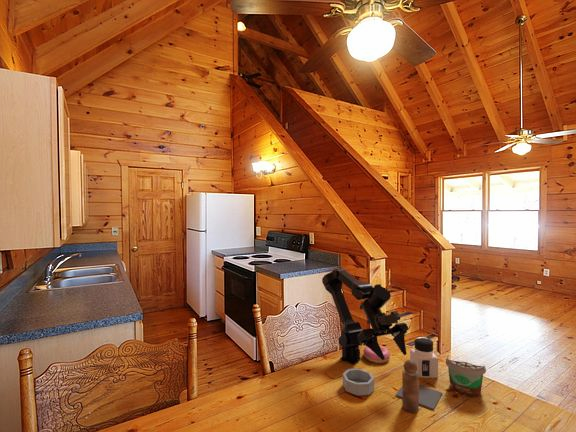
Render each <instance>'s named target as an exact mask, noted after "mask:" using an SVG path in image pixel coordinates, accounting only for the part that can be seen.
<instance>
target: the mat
mask: <svg viewBox="0 0 576 432" xmlns="http://www.w3.org/2000/svg"><path fill="white" fill-rule="evenodd" d="M395 396H396V397H398V398H401V399H402V386H401V387H400V388H399V390H398V391H397V392H396V393H395ZM442 396H443V392H442V391H439V390H436V389H434V388H430V387H427V386H425V385H422V384H419V406H421V407H423V408H427V409H429V410H431V411H435V410H436V409H435V408H436V407H437V405H438V403H439V401H440V399H441V398H442Z"/></svg>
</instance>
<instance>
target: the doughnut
mask: <svg viewBox="0 0 576 432" xmlns="http://www.w3.org/2000/svg"><path fill="white" fill-rule="evenodd" d="M379 346H380V348H381V351H382V353H383V355H384V358H385V359H384V360H382V359H381V358H380V357H379V356H377V355H376V354H375V353H374V352H373V351H372V350H371V349H370V348H368V347H367V346H365V347H364V349H363V353H362V354H363V356H364V358H365V359H366V360H367V361H369V362H372V363H375V364H383V363H387V362H388V361H389V360H390V357H391V353H390V351H389V349H387V348H386V347H384V346H381V345H379Z"/></svg>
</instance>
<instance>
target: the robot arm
mask: <svg viewBox="0 0 576 432" xmlns="http://www.w3.org/2000/svg"><path fill="white" fill-rule="evenodd" d="M321 282H322V284H323V286H324V288H325V290H326V291H327V292H328V293H329V294H331V297H332V299H333V302H334V305H335V308H336V310H337V314H338V316H339V319H340V322H341V324H342V325H341V329H340V331H341V332H340V333H341V335H340V337H338V338H337V339H338V345H340V347H341V357H340V360H341V361H344V362H345V363H349V364H352V365H354V364H356V363H357V362H358V361H360V360H361V358H362V357H361V349H360V346H362V345H363V346H364V347H368V348H370V349H371V350H372V351H373V352H374V353H375V354H376V355H377V356H379V357H380V358H381V359H382V360H384V359H385V358H384V355H383V353H382V351H381V348H380V346H381V345H379V342H378V337H382V336H387V335H391V336H392V337H393V338H392V339H393V341H394V342H395V345H396V346H397V347H398V349H399V351H400V352H401V353H402V354H403V356H406V355H407V354H408V353H407V347H406V342H405V335H406V334H407V333H408V330H410V328H409V326H408V324H407V323H405V322H398V321H401V315H400V314H399V312H398V310H393V311H390V314H386V313H385V312H382V310H381V308H383V307H384V306H385V305H386V304H387V302H388V301H389V300H390V299H391V297H392V296H391V292H390V291H389V289H387V288H385V287H384V286H382V284H380V283H379V284H377V283H376V284H375V285H374V286H373V285H372V284H371V283H369V282H367V281H362V280H358V278H356V277H354V276H353V275H352V274H351V273H350V272H348V271H347V270H346V269H345V268H334V269H333V270H332V271H330V272H329V273H326V274H324V275H323V277H322V279H321ZM343 284H344V285H345V286H346V287H347V288H348V289H350V292H351V295H352V297H354V299H356V300H357V301H359V300H363V301H361V302H360V305H359V310H363V311H364V314H365V316H366V318H367V320H366V323H367V324H368V325H370V327H371V328H366V329H363V328H362V326H361V323H360V322H359V321H355V320H354V319H353V317H352V313H351V311H350V308H349V305H348V303H347V301H346V299H345V296H344V293H343V290H342V287H343ZM393 324H394V326H393Z"/></svg>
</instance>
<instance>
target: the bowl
mask: <svg viewBox="0 0 576 432" xmlns="http://www.w3.org/2000/svg"><path fill="white" fill-rule="evenodd" d="M342 386H343V388H344V390H345V391H346V392H348V393H350V394H352V395H355V396H370V394H372V393H373V391H375V377H374V376H373V375H372V373H371V372H370V371H369V370H365V369H361V368H348V369H346V370H345V371H344V372H343V373H342Z"/></svg>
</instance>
